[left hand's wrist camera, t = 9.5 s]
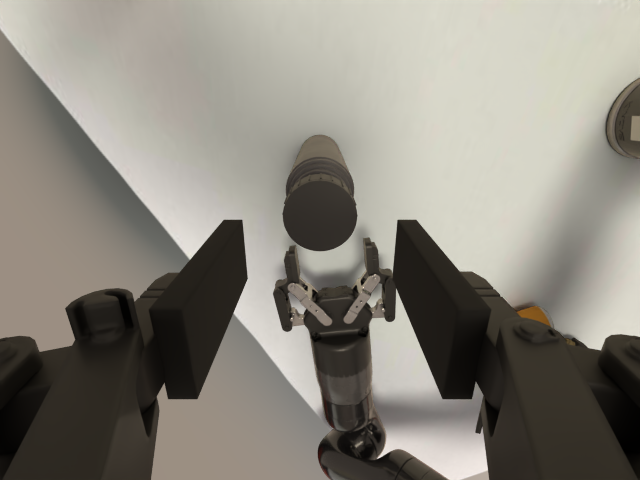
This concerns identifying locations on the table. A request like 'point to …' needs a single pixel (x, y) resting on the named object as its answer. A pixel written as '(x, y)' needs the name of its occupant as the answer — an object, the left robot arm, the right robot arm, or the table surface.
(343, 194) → the cap
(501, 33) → the table surface
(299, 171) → the bottle
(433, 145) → the table surface
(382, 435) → the right robot arm
